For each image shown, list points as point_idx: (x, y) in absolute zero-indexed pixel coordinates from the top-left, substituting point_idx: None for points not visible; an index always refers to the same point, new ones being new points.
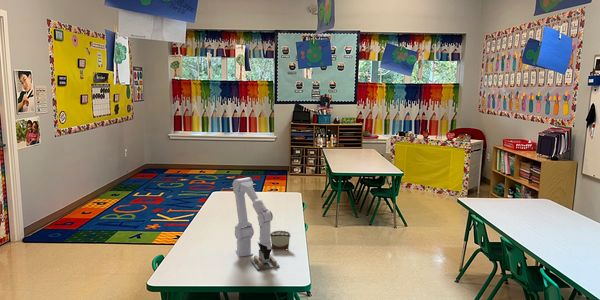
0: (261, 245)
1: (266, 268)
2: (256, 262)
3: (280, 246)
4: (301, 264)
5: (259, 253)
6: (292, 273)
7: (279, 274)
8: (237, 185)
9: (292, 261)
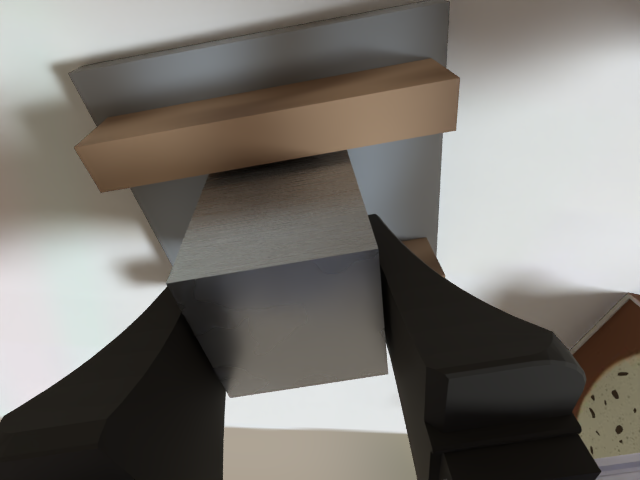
0: (414, 384)
1: (139, 194)
2: (302, 86)
3: (601, 374)
4: (250, 418)
5: (321, 213)
6: (73, 369)
7: (24, 289)
8: None
9: (317, 386)
